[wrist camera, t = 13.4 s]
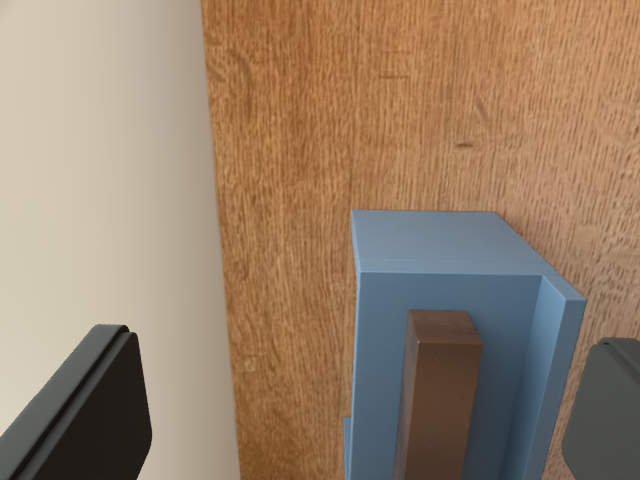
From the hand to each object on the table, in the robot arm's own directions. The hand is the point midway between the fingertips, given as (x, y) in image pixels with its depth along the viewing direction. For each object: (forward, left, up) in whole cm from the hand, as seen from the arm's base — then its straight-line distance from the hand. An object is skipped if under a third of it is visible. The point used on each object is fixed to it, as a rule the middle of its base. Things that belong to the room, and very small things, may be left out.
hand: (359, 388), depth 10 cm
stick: (+5, -14, -13) cm, 19 cm away
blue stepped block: (+6, -14, -23) cm, 27 cm away
